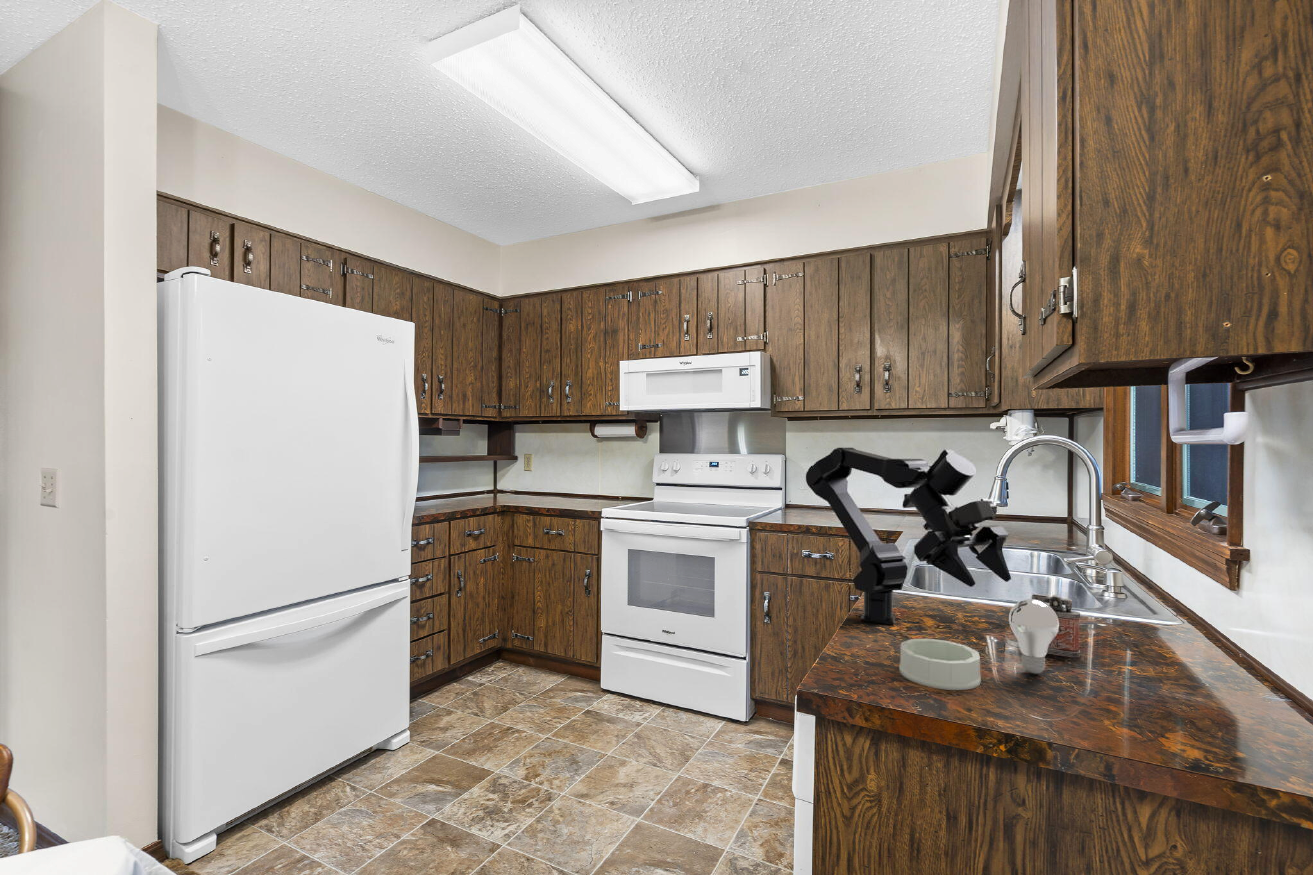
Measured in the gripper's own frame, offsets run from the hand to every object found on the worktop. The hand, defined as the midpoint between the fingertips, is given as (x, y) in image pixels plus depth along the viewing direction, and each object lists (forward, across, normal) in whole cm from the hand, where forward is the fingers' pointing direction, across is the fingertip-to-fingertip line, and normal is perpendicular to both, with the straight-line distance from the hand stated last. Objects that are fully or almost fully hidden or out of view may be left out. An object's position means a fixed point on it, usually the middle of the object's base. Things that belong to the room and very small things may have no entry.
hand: (991, 582), depth 108 cm
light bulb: (+15, 0, +4) cm, 15 cm away
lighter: (+11, +14, +8) cm, 19 cm away
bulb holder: (+10, -14, +8) cm, 20 cm away
